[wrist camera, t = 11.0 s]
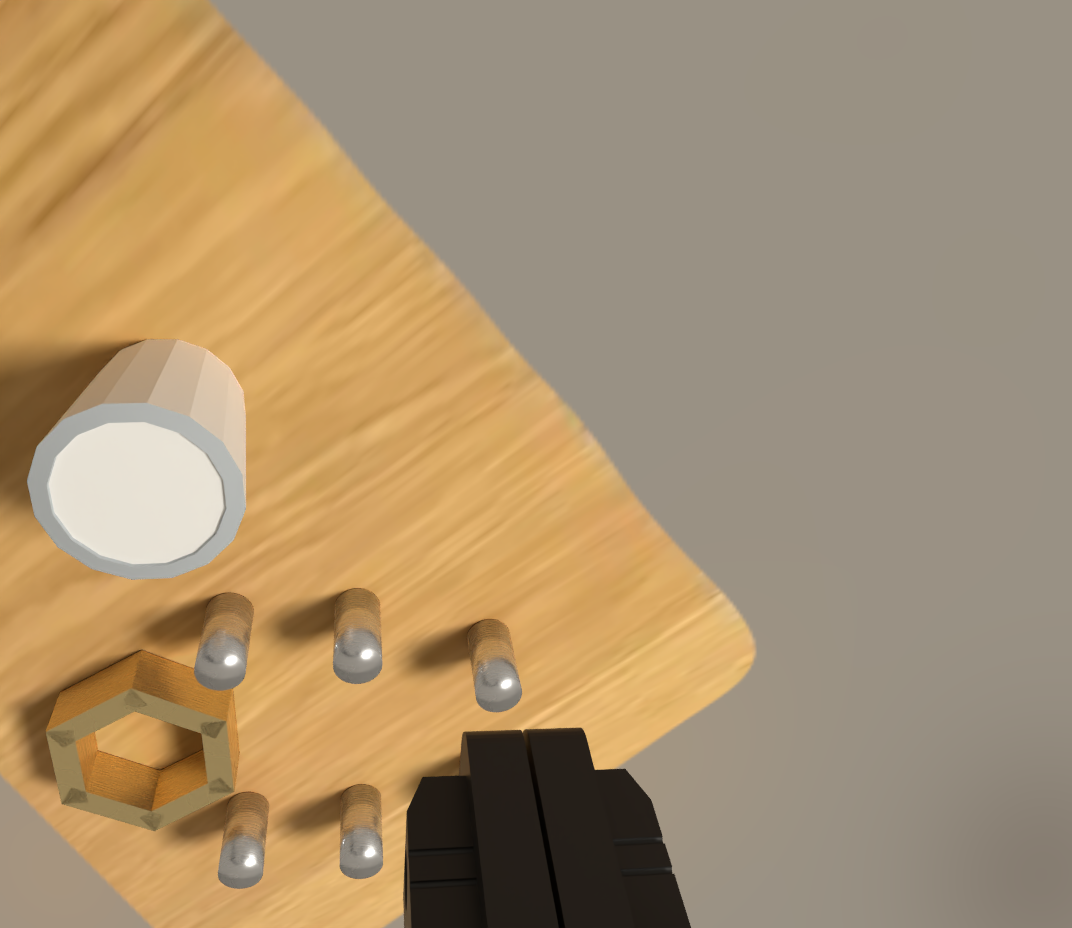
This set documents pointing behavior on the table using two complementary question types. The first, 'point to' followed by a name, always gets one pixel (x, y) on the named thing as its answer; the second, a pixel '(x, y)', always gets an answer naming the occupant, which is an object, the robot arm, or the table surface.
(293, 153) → the table surface
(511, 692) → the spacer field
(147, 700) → the tan hexagonal ring
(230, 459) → the white cup
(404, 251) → the table surface
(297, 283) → the table surface
